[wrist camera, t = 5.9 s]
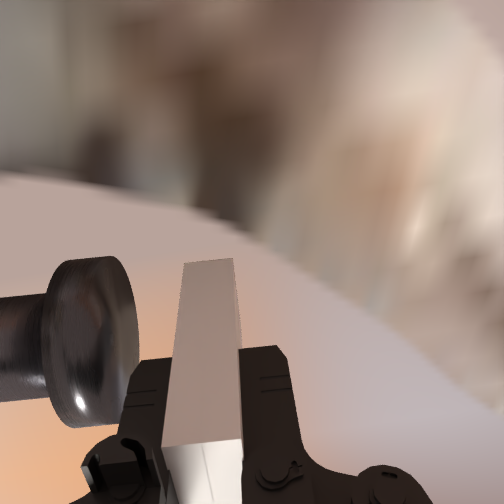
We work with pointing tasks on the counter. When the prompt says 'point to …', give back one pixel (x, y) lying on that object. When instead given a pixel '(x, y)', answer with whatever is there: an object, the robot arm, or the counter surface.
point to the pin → (72, 342)
